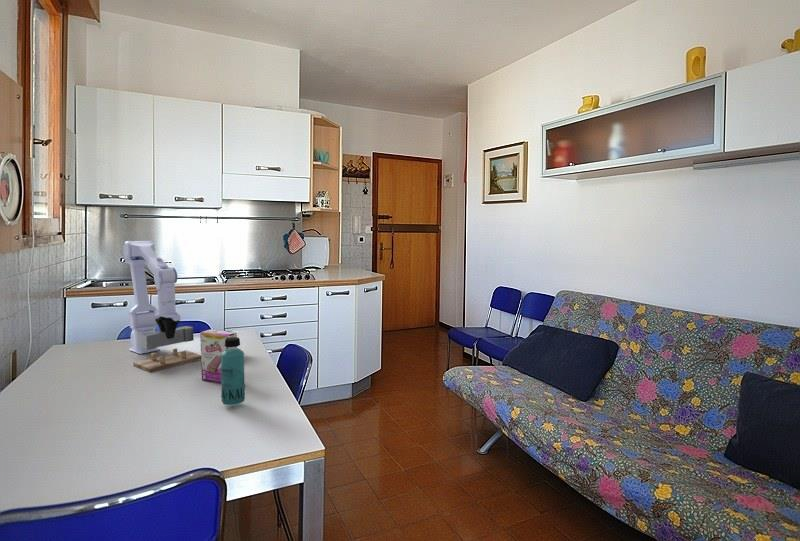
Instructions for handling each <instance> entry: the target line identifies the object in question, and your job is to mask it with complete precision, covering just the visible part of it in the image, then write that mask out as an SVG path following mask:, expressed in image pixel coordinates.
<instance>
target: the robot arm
mask: <svg viewBox="0 0 800 541" xmlns="http://www.w3.org/2000/svg"><path fill="white" fill-rule="evenodd" d="M122 252H123V259H124V262H125V263H126V264H128V265H129V268H130V274H131V282H132V289H133V290H132V291H133V296H134V302H135V304H134V306H133V307H131V309H130V310H129V311H128V318H127V319H128V326H129V328H130V329H131V333H130V346H131V347H130V348H128V350H129V351H130V352H133V353H136V354H139V355H142V354H147V353H150V352H151V353H152V352H155V351H160V350H161V348H160V347H157V348H154V349H150V350H145V349H143V348H141V339H140V334H144V333H152V332H156V331H155V329H157V326H158V328H159V331H164V330H166V335H167V338H168V339H170V338H174V335H175V330H176V328H178V324H179V323H180V321H181V315H180V314H178V312H176V310H177V308H176V291H175V290H176V285H175V284H176V283H177V282H178V273H177V270H176V268H175V267H171V266H170V267H169V265H168V264H167V263H166V261H165V260H164V259H163V258H161V257H160V256H159V257H158V255H157V254H156V253H155V252H156V247H155V243H154V242H153V241H152V240H135V241H134V240H133V241H132V240H131V241H130V240H127V241H125V242H124V243H123V247H122ZM146 264H147V268H148V270H149V271H150V272H151V273H152V275H153V282H154V283H155V290H157V307H156V306H154V305H153V304H151V303H150V299H149V292H148V285H147V276H146V271H145V265H146Z"/></svg>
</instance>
